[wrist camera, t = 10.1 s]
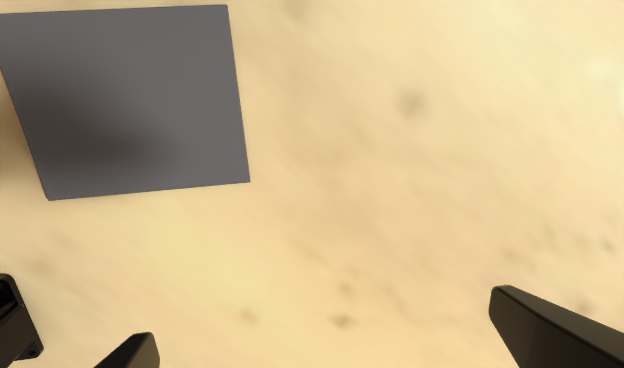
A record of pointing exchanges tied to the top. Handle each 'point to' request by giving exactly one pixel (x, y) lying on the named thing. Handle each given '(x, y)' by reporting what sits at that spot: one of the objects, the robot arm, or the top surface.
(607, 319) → the top surface
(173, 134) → the mat
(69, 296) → the top surface
